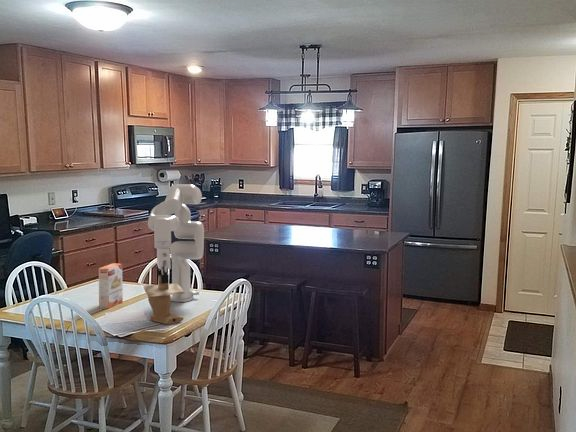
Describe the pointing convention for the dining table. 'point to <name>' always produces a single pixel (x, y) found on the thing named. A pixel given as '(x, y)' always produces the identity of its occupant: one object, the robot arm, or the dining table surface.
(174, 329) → the dining table surface
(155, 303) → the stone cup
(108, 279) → the cracker box
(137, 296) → the dining table surface
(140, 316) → the mat
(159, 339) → the dining table surface
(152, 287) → the lid
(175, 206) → the robot arm
